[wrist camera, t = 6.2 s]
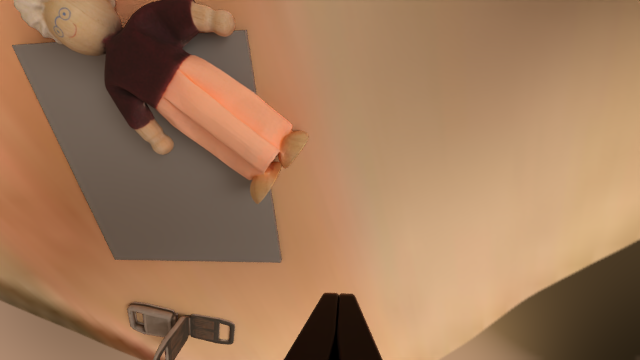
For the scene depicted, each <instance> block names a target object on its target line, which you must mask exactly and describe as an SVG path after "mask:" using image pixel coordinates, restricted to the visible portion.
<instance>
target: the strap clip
mask: <svg viewBox="0 0 640 360" xmlns="http://www.w3.org/2000/svg"><path fill="white" fill-rule="evenodd" d="M127 310H128V316H129V321H130V326H131V327H132V328H133V329H134V330H136V331H139V332H141V333H143V334H147V335H153V336H160V337H164V339H163V340H162V342H161V344H160V345H159V347H158V349H157V351H156V353H155V356H154V359H153V360H160V357H161V355H162V353H163V352H164V350H165V360H174V359H175V358H176V356H177V354H178V353H179V351H180V350H181V348H182V347H183V345H184V344H185V342H186V341H187V339H188V335H191V337H193V338H198V339H202V340H206V341H210V342H214V343H219V344H232V343H233V341H234V331H235V324H234V323H233V322H231V321H227V320H224V319H221V318H215V317H209V316H203V315H197V314H192V315H191V316H187V315H185V317H183V316H182V317H180V319H179V320H178V313H175V311H174V310H172V309H168V308H164V307H160V306H156V305H152V304H148V303H141V302H132V303H131V304H130V305H129V307H128V309H127ZM136 312H138V313H142V314H143V321H144V323H141V322H138V321H137V317H136ZM220 323H221V324H225V325H228V326H230V339H229V340H223V339H219V330H220Z"/></svg>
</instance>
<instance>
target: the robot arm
mask: <svg viewBox="0 0 640 360" xmlns="http://www.w3.org/2000/svg"><path fill="white" fill-rule="evenodd" d="M284 360H382V358H381V355H380V353H379V351H378V348H377V346H376V344H375V341H374V339H373V337H372V334H371V332H370V330H369V327H368V325H367V323H366V320H365V318H364V316H363V313H362V311H361V309H360V307H359V304H358V302H357V300H356V297H355V296H354V295H353V294H344V293H341V294H340V295H338V294H337V293H324V294H323V295H322V297H321V299H320V300H319V302H318V304H317V305H316V307H315V309H314V310H313V312H312V314H311V315H310V317H309V319H308V320H307V322H306V324H305V325H304V327H303V329H302V330H301V332H300V334H299V335H298V337H297V339H296V340H295V342H294V344H293V345H292V347H291V349H290V350H289V352H288V354H287V355H286V357H285V359H284Z"/></svg>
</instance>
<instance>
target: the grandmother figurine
mask: <svg viewBox="0 0 640 360" xmlns="http://www.w3.org/2000/svg"><path fill="white" fill-rule="evenodd" d="M115 4H116V3H115V0H14V6H15V8H16V9H17V10H18V11H19V12H20V13H21V17H22V19H23V20H24V21H25V22H26V23H27V24H28V25H29V26H30V27H33V28H35V29H36V30H38V31H39V32H40V33H41V34H42V36H43V37H45V38H52V39H54V40H55V41H56V42H57V43H58V44H64V45H65V46H66V47H68V48H70V49H71V50H73V51H75V52H78V53H81V54H84V55H91V56H99V55H103V54H106V56H105V70H104V82H105V87H106V89H107V91H108V93H109V94H110V96H111V98H112V100H113V101H114V103H115V104H116V106H117V108H118V109H119V111H120V112H121V114H122V115H123V117H124V119H125V120H126V122H127V123H128V125H129V126H130V127H131V128H132V129H134V130H135V131H136V132H137V133H138V134H139V135H140V136H141V137H142V138H143V139H144V140H145V141H147V142H149V143H150V144H151V146H152V148H153V150H154V151H155V152H156V153H158V154H162V155H164V154H167V153H169V152H171V150H172V149H173V147H174V142H173V140H172V139H171V138H170V137H169V136H167V135H166V134H164V132H163V129H162V127H161V126H160V125H159V124H158V123H157V122H156V120H155V117H154V116H153V113H152V112H151V110H150V109H149V107H148V105H150V106H152V107H153V108H155V109H157V111H158V112H159V113H160V114H161V115H162V116H163V117H164V118H166V119H167V120H168V122H169V123H170V124H172V125H173V126H174V127H175V128H177V129H178V130H179V131H181V132H182V133H183V134H185V135H186V136H187V137H189V138H190V139H192V140H193V141H195V142H196V143H198V144H199V145H201V146H202V147H203V148H205V149H206V150H208V151H209V152H210V153H212V154H213V155H215V156H216V157H217V158H218V159H220V160H221V161H222V162H224V163H225V164H226V165H228V166H229V167H230V168H232V169H233V170H235V171H236V172H238V173H239V174H241V175H242V176H243V177H245V178H246V179H248V180H252V182H251V185H250V193H251V197H252V199H253V200H254V202H255V203H256V204H259V203H260V202H261V201H262V200H263V199H264V197H265V196H266V195H267V193H268V192H269V190H270V189H271V187H272V185H273V184H274V182H275V180H276V179H277V177H278V175H279V172H280V170H281V167H282V166H283V167H284V168H287V167H288V166H289V165H290V164H291V163H292V162H293V160H294V159H295V158H296V157H297V155H298V154H299V153H300V152H301V150H302V149H303V147H304V146H305V144H306V142H307V140H308V137H309V136H308V134H307V133H306V132H304V131H292V127H293V125H292V124H291V123H290V122H289V121H288V120H286V119H285V118H284V117H283V116H281V115H280V114H279V113H278V112H276V111H275V110H274V109H273V108H271V107H270V106H269V105H268V104H267V103H266V102H264V101H263V100H262V99H261V98H260V97H259V96H257V95H256V94H255V93H254V92H252V91H251V90H250V89H248V88H247V87H245V86H244V85H242V84H241V83H239V82H238V81H236V80H235V79H233V78H232V77H231V76H229V75H228V74H226V73H225V72H223V71H222V70H220V69H219V68H217V67H215V66H214V65H212V64H211V63H209V62H207V61H206V60H204V59H202V58H200V57H198V56H195V55H191V54H189V53H187V52H186V51H184V50H183V49H182V48H183V47H184V46H185V45H186V44H187V43H188V42H189V41H190V40H191V39H193V38H194V37H195V36H196V35H197V34H198V33H199V32H206V33H208V32H214V33H216V34H217V35H219V36H223V37H227V36H229V35H231V34H232V33H233V31H234V29H235V20H234V18H233V16H232V14H231V13H230V12H228V11H226V10H213V9H212V8H210V7H209V6H205V5H201V4H197V3H195V1H194V0H160V1H155V2H152V3H149V4H147V5H144V6H143V7H141V8H140V9H138V10H137V11H136V12H135V13H134V14H133V15H132V16H131V18H130V19H129V21H128V22H127V24H126V25H125V27H124V28H123V29H122V26H121V19H120V18H119V16H118V14H117V12H116V11H115V9H114V8H115ZM147 104H148V105H147ZM277 154H278V157H279V161H280V162H272V161H273V160H274V159H275V157H276V156H277Z"/></svg>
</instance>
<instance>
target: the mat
mask: <svg viewBox="0 0 640 360" xmlns="http://www.w3.org/2000/svg"><path fill="white" fill-rule="evenodd" d="M12 47H13V49H14V51H15V53H16V55H17V57H18V59H19V61H20V63H21V65H22V67H23V70H24V72H25V74H26V76H27V78H28V80H29V82H30V84H31V86H32V88H33V90H34V92H35V94H36V97H37V99H38V101H39V103H40V105H41V107H42V109H43V111H44V113H45V115H46V117H47V119H48V121H49V124H50V126H51V128H52V130H53V132H54V134H55V136H56V138H57V140H58V142H59V144H60V146H61V149H62V151H63V153H64V155H65V157H66V159H67V161H68V163H69V165H70V167H71V169H72V171H73V173H74V176H75V178H76V180H77V182H78V184H79V186H80V188H81V190H82V192H83V194H84V196H85V198H86V200H87V203H88V205H89V207H90V209H91V211H92V213H93V215H94V217H95V219H96V221H97V223H98V225H99V227H100V230H101V232H102V234H103V236H104V238H105V240H106V242H107V244H108V246H109V248H110V250H111V252H112V254H113V257H114V259H115V260H166V261H222V262H277V263H281V260H282V258H281V252H280V245H279V239H278V232H277V225H276V219H275V212H274V206H273V199H272V193H271V189H270V190H269V192H268V193H267V195H266V196H265V197H264V199H263V200H262V201H261V202H260V203H259V204H256V203H255V202H254V200H253V199H252V197H251V193H250V185H251V182H252V180H248V179H246V178H245V177H243V176H242V175H241V174H239V173H238V172H236V171H235V170H233V169H232V168H230V167H229V166H228V165H226V164H225V163H224V162H222V161H221V160H220V159H218V158H217V157H216V156H215V155H213V154H212V153H210V152H209V151H208V150H206V149H205V148H203V147H202V146H201V145H199V144H198V143H196V142H195V141H193V140H192V139H190V138H189V137H187V136H186V135H185V134H183V133H182V132H181V131H179V130H178V129H177V128H175V127H174V126H173V125H172V124H170V123H169V122H168V120H167V119H166V118H164V117H163V116H162V115H161V114H160V113H159V112H158V111H157V109H155V108H153V107H152V106H150V105H148V104H147V105H148V107H149V109H150V110H151V112H152V113H153V116H154V117H155V120H156V122H157V123H158V124H159V125H160V126H161V127H162V129H163V132H164V134H166V135H167V136H169V137H170V138H171V139H172V140H173V142H174V147H173V149H172V150H171V152H169V153H167V154H164V155H162V154H158V153H156V152H155V151H154V150H153V148H152V146H151V144H150V143H149V142H147V141H145V140H144V139H143V138H142V137H141V136H140V135H139V134H138V133H137V132H136V131H135V130H134V129H132V128H131V127H130V126H129V125H128V123H127V122H126V120H125V119H124V117H123V115H122V114H121V112H120V111H119V109H118V108H117V106H116V104H115V103H114V101H113V100H112V98H111V96H110V94H109V93H108V91H107V89H106V87H105V82H104V70H105V56H106V54H103V55H99V56H91V55H84V54H81V53H78V52H75V51H73V50H71V49H70V48H68V47H66V46H65V45H64V44H58V43H57V42H52V43H36V44H21V45H12ZM182 49H183V50H184V51H186V52H187V53H189V54H191V55H195V56H198V57H200V58H202V59H204V60H206V61H207V62H209V63H211V64H212V65H214V66H215V67H217V68H219V69H220V70H222V71H223V72H225V73H226V74H228V75H229V76H231V77H232V78H233V79H235V80H236V81H238V82H239V83H241V84H242V85H244V86H245V87H247V88H248V89H250V90H251V91H252V92H254V93H255V94H256V88H255V81H254V75H253V68H252V61H251V55H250V48H249V42H248V35H247V30H239V31H233V33H232V34H231V35H229V36H227V37H223V36H219V35H217V34H216V33H214V32H208V33H198V34H197V35H196V36H195V37H194V38H193V39H191V40H190V41H189V42H188V43H187V44H186V45H185V46H184V47H183V48H182ZM256 95H257V94H256Z"/></svg>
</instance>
